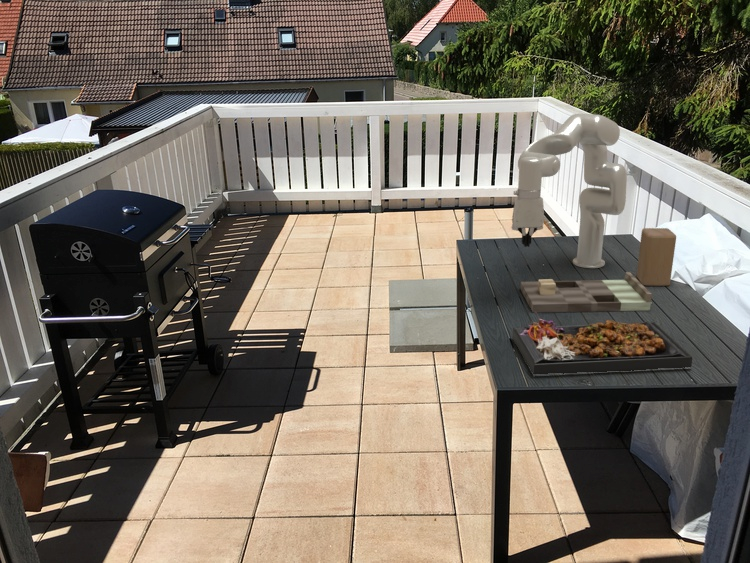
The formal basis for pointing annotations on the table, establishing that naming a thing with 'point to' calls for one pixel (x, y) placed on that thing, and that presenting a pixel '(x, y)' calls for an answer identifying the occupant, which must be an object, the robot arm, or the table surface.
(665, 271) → the block
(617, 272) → the table surface
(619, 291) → the board
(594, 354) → the food platter
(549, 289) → the birch block
